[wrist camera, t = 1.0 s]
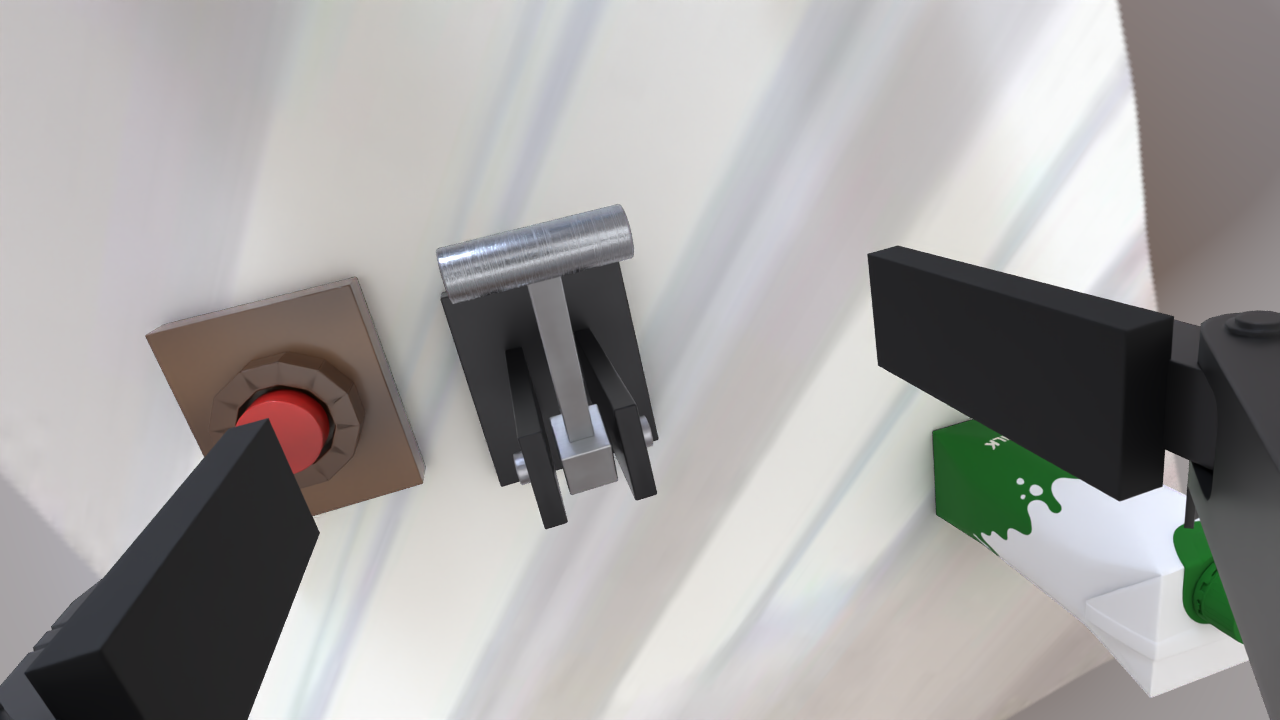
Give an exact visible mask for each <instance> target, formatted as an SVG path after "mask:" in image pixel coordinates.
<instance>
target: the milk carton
mask: <svg viewBox="0 0 1280 720" xmlns="http://www.w3.org/2000/svg"><path fill="white" fill-rule="evenodd" d="M933 450H934V472H935V494H936V515H937V516H939V517H941V518H942V519H944V520H945V521H947V522H948V523H950V524H952V525H953V526H955V527H956V528H958V529H959V530H961V531H963V532H964V533H966V534H967V535H969V536H970V537H972V538H973V539H975V540H977V541H978V542H980V543H981V544H983V545H984V546H986V547H987V548H988V549H990V550H991V551H992V552H993V553H995V554H996V555H997V556H998V557H1000V558H1001V559H1002V560H1004V561H1005V562H1006V563H1007V564H1009V565H1010V566H1011V567H1012V568H1014V569H1015V570H1016V571H1017V572H1019V573H1020V574H1021V575H1022V576H1024V577H1025V578H1026V579H1028V580H1029V581H1030V582H1031V583H1033V584H1034V585H1035V586H1036V587H1038V588H1039V589H1040V590H1041V591H1043V592H1044V593H1045V594H1046V595H1048V596H1049V597H1050V598H1052V599H1053V600H1054V601H1055V602H1057V603H1058V604H1059V605H1060V606H1062V607H1063V608H1064V609H1065V610H1067V611H1068V612H1069V613H1070V614H1072V615H1073V616H1074V617H1075V618H1077V619H1078V620H1079V621H1080V622H1082V623H1083V624H1084V625H1085V626H1086V627H1087V628H1088V629H1089V630H1090V631H1091V632H1092V633H1093V634H1094V635H1095V636H1096V637H1097V639H1098V640H1099V641H1100V642H1101V643H1102V644H1103V645H1104V646H1105V647H1106V649H1107V650H1108V651H1109V652H1110V653H1111V654H1112V655H1113V656H1114V658H1115V659H1116V660H1117V661H1118V662H1119V663H1120V664H1121V665H1122V666H1123V668H1124V669H1125V670H1126V671H1127V672H1128V673H1129V674H1130V676H1131V677H1132V678H1133V679H1134V680H1135V681H1136V682H1137V683H1138V684H1139V686H1140V687H1141V688H1142V689H1143V690H1144V691H1145V692H1146V693H1147V695H1148V696H1149V697H1150V698H1151V697H1154V696H1157V695H1159V694H1162V693H1165V692H1167V691H1170V690H1172V689H1175V688H1178V687H1180V686H1183V685H1185V684H1188V683H1191V682H1193V681H1196V680H1199V679H1201V678H1204V677H1206V676H1209V675H1212V674H1214V673H1217V672H1219V671H1222V670H1225V669H1227V668H1230V667H1232V666H1235V665H1237V664H1240V663H1243V662H1245V661H1248V660H1249V658H1248V655H1247V653H1246V650H1245V647H1244V644H1243V641H1242V638H1241V636H1240V633H1239V630H1238V627H1237V624H1236V621H1235V619H1234V616H1233V613H1232V610H1231V607H1230V604H1229V601H1228V599H1227V596H1226V593H1225V590H1224V587H1223V584H1222V582H1221V579H1220V576H1219V573H1218V570H1217V567H1216V565H1215V562H1214V559H1213V556H1212V553H1211V550H1210V547H1209V545H1208V542H1207V539H1206V536H1205V533H1204V530H1203V528H1202V525H1201V522H1200V519H1199V518H1198V519H1196V520H1195V522H1194V528H1193V529H1189V528H1184V521H1185V509H1186V496H1187V495H1184V494H1182V493H1180V492H1178V491H1176V490H1174V489H1172V488H1170V487H1168V486H1166V485H1164V484H1163V487H1160V488H1157V489H1154V490H1152V491H1149V492H1146V493H1143V494H1140V495H1137V496H1135V497H1132V498H1129V499H1126V500H1123V501H1120V502H1119V501H1117V500H1116V499H1114V498H1112V497H1110V496H1108V495H1107V494H1105V493H1103V492H1101V491H1100V490H1098V489H1096V488H1094V487H1092V486H1091V485H1089V484H1087V483H1085V482H1084V481H1082V480H1080V479H1078V478H1077V477H1075V476H1073V475H1071V474H1069V473H1068V472H1066V471H1064V470H1062V469H1061V468H1059V467H1057V466H1055V465H1054V464H1052V463H1050V462H1048V461H1046V460H1045V459H1043V458H1041V457H1039V456H1038V455H1036V454H1034V453H1032V452H1031V451H1029V450H1027V449H1025V448H1023V447H1022V446H1020V445H1018V444H1016V443H1015V442H1013V441H1011V440H1009V439H1007V438H1006V437H1004V436H1002V435H1000V434H999V433H997V432H995V431H993V430H992V429H990V428H988V427H986V426H984V425H983V424H981V423H979V422H977V421H976V420H974V419H973V420H969V421H966V422H962V423H959V424H956V425H952V426H949V427H946V428H942V429H939V430H936V431H933Z"/></svg>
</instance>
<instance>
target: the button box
mask: <svg viewBox="0 0 1280 720" xmlns="http://www.w3.org/2000/svg"><path fill="white" fill-rule="evenodd" d="M146 339H147V341H148V343H149V345H150V347H151V349H152V351H153V353H154V355H155V357H156V359H157V361H158V363H159V365H160V367H161V369H162V371H163V373H164V375H165V377H166V380H167V382H168V384H169V386H170V388H171V390H172V392H173V394H174V396H175V398H176V400H177V402H178V404H179V406H180V408H181V410H182V412H183V414H184V416H185V418H186V420H187V423H188V425H189V427H190V429H191V431H192V433H193V435H194V437H195V439H196V441H197V443H198V445H199V447H200V449H201V451H202V453H203V455H204V457H205V456H206V455H207V454H208V453H209V451H210V450H211V449H212V448H213V447H214V446H215V444H216V443H217V442H218V441H219V440H220V438H221V437H222V436H223V435H224V434H225V432H226V431H227V430H228V429H230V428H234V427H235V426H236V424H237V422H238V420H239V418H240V417H241V416H242V414H243V413H244V412H245V411H246V410H247V409H248V407H249V406H250V405H251V404H252V403H253V402H254V401H255V400H256V399H257V398H258V397H260V396H261V395H263V394H265V393H268V392H271V391H275V390H283V389H285V390H295V391H299V392H302V393H305V394H307V395H309V396H310V397H312V398H313V399H315V400H316V401H317V402H318V403H319V404H320V405H321V406H322V407H323V409H324V410H325V412H326V414H327V417H328V420H329V435H328V438H327V440H326V442H325V445H324V447H323V449H322V451H321V453H320V455H319V456H318V458H317V459H316V461H315V462H314V463H313V464H312V465H311V466H309V467H308V468H306V469H305V470H303V471H301V472H298V473H295V474H294V476H295V478H296V481H297V483H298V485H299V487H300V490H301V492H302V494H303V496H304V499H305V501H306V503H307V505H308V508H309V510H310V512H311V514H312V516H315V515H318V514H321V513H325V512H328V511H332V510H335V509H338V508H342V507H345V506H349V505H352V504H355V503H359V502H362V501H366V500H369V499H372V498H376V497H379V496H382V495H386V494H389V493H393V492H396V491H399V490H403V489H406V488H410V487H413V486H416V485H420V484H422V483H423V480H424V473H425V464H424V461H423V458H422V456H421V453H420V450H419V447H418V445H417V442H416V439H415V436H414V434H413V431H412V428H411V425H410V423H409V420H408V417H407V414H406V412H405V409H404V406H403V403H402V401H401V398H400V395H399V392H398V390H397V387H396V384H395V381H394V379H393V376H392V373H391V370H390V368H389V365H388V362H387V359H386V356H385V354H384V351H383V348H382V345H381V343H380V340H379V337H378V334H377V332H376V329H375V326H374V323H373V321H372V318H371V315H370V312H369V310H368V307H367V304H366V301H365V299H364V296H363V293H362V290H361V288H360V285H359V282H358V279H357V278H356V277H353V278H349V279H345V280H341V281H337V282H333V283H329V284H325V285H321V286H317V287H313V288H309V289H305V290H301V291H297V292H293V293H288V294H284V295H280V296H276V297H272V298H268V299H264V300H260V301H256V302H252V303H248V304H244V305H240V306H236V307H232V308H228V309H224V310H220V311H216V312H212V313H208V314H204V315H200V316H196V317H192V318H188V319H184V320H180V321H175V322H171V323H167V324H164V325H162V326H160V327H159V328H157V329H155V330H154V331H152V332H150V333H149V334H147V335H146Z"/></svg>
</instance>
